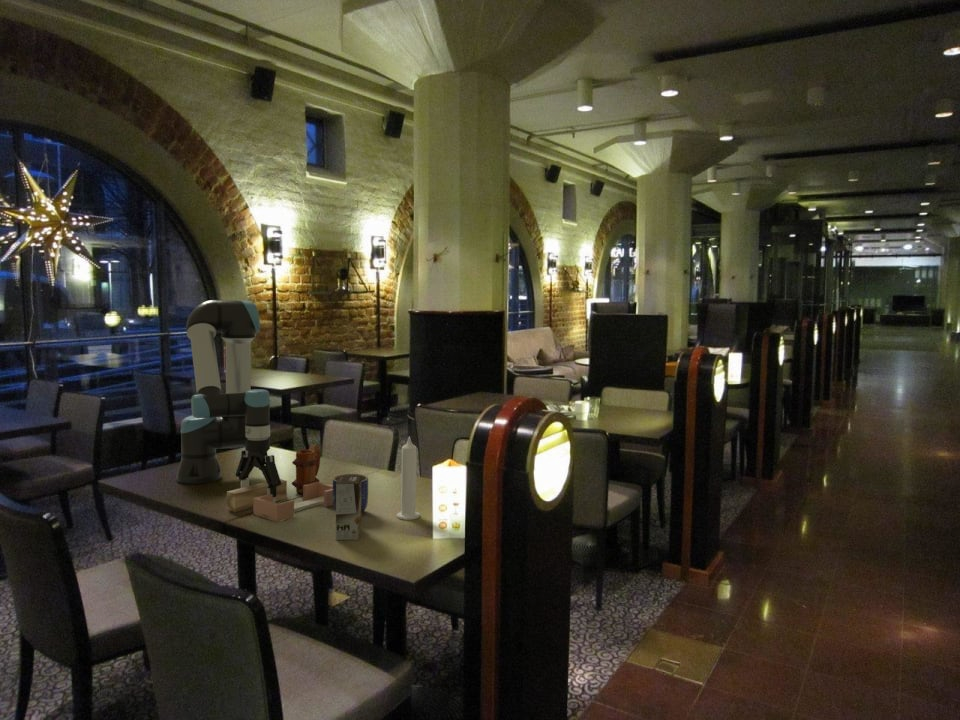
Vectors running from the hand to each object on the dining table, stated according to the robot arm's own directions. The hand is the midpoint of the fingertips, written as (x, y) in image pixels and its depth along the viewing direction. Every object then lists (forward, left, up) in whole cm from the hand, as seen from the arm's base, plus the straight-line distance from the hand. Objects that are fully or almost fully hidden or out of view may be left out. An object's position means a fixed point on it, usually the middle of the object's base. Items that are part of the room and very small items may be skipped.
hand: (258, 503), depth 224 cm
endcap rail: (+14, +5, 0) cm, 15 cm away
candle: (+46, +21, 0) cm, 50 cm away
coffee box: (+44, -2, 0) cm, 44 cm away
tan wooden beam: (0, 0, 0) cm, 0 cm away
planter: (+30, +12, 0) cm, 32 cm away
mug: (0, +21, 0) cm, 21 cm away
